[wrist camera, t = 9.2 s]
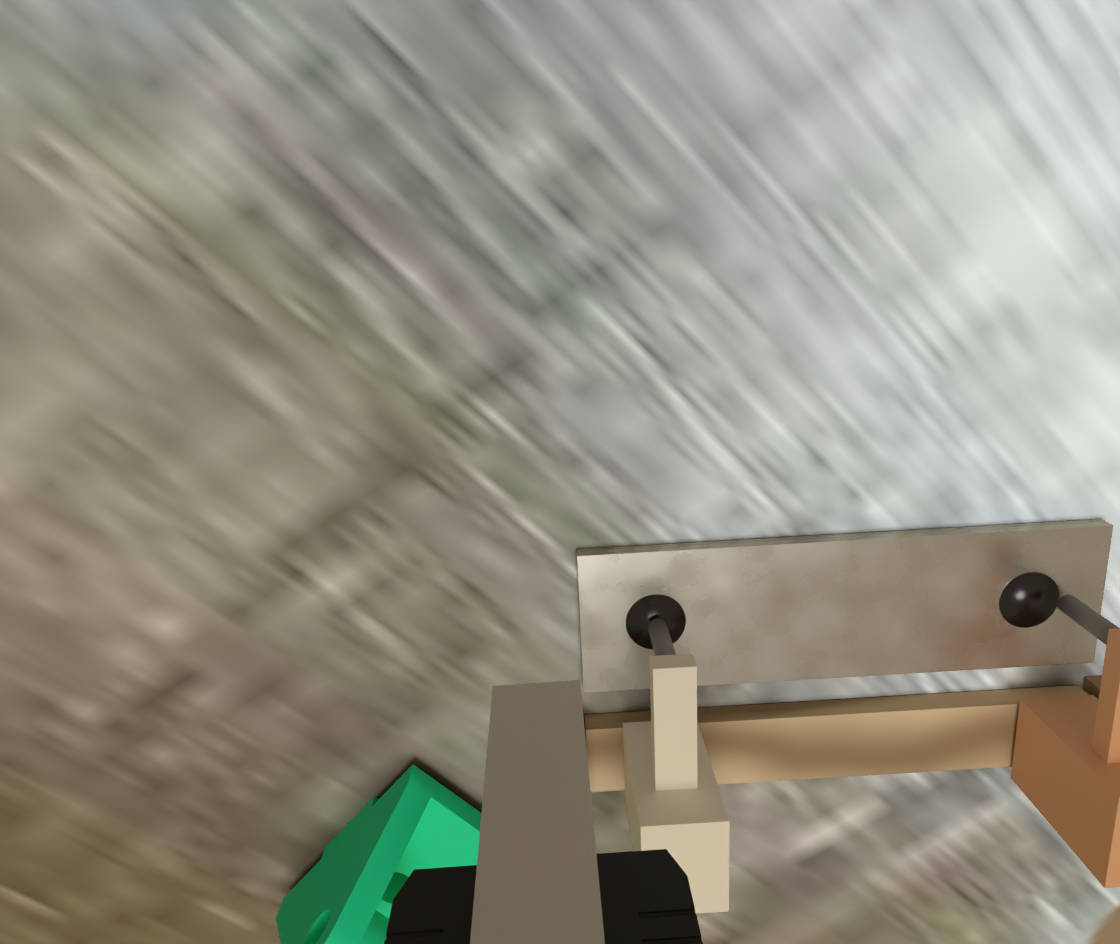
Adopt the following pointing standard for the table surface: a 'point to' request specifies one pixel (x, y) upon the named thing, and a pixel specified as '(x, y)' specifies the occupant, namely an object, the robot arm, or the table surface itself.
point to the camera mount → (379, 862)
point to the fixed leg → (676, 779)
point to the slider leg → (1077, 756)
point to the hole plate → (843, 603)
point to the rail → (839, 735)
